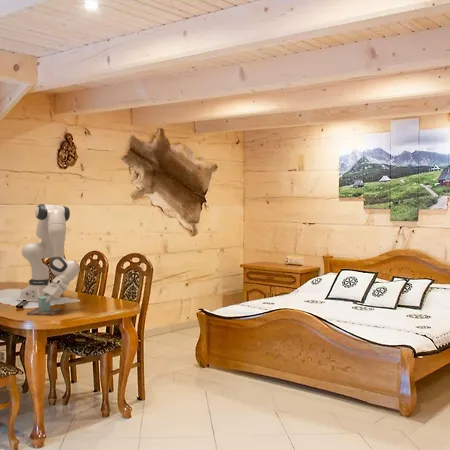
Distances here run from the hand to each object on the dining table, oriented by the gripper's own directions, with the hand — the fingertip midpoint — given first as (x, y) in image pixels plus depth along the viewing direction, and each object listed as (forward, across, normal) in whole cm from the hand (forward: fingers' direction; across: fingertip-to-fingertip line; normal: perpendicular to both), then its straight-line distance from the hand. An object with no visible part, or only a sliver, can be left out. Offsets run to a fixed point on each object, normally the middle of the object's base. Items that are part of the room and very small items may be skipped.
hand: (43, 300), depth 365 cm
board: (+5, 0, +6) cm, 7 cm away
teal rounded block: (+4, 0, +5) cm, 6 cm away
